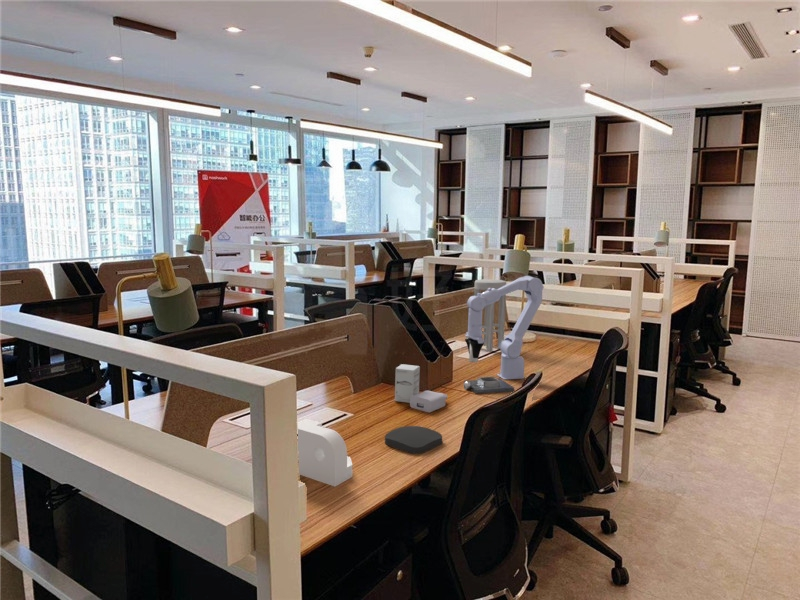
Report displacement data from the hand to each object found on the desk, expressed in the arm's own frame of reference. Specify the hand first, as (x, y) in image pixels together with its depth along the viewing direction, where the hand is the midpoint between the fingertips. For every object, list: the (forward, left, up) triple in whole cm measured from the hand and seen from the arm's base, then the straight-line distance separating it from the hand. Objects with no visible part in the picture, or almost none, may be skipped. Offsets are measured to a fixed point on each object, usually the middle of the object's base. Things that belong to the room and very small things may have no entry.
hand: (473, 356), depth 250 cm
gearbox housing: (-1, +14, -9) cm, 17 cm away
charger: (+27, +30, -10) cm, 42 cm away
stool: (-29, -52, -10) cm, 60 cm away
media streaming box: (+44, +62, -10) cm, 77 cm away
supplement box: (+35, +22, -10) cm, 42 cm away
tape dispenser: (+73, +76, -10) cm, 106 cm away
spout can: (0, 0, -2) cm, 2 cm away
